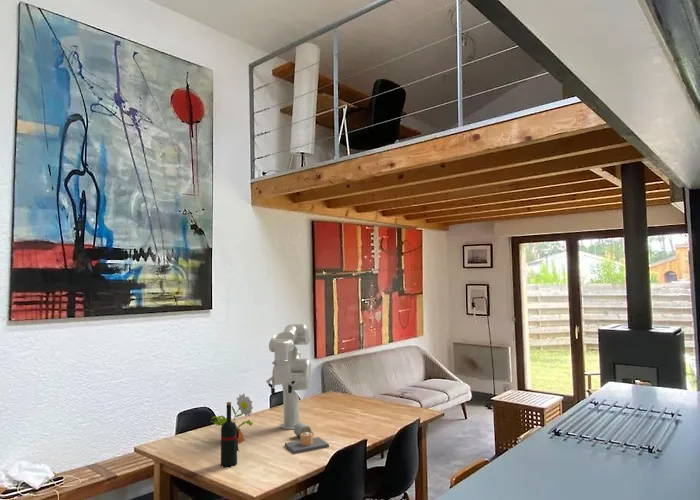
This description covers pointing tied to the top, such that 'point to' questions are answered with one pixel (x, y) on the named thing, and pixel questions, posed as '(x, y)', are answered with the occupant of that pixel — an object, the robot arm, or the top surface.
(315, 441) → the post base
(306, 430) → the ceramic mug
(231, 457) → the wine bottle
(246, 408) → the decorative plant
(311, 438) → the collar
